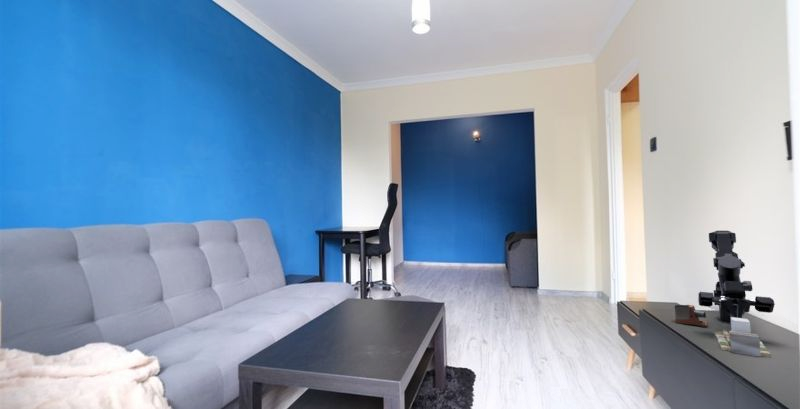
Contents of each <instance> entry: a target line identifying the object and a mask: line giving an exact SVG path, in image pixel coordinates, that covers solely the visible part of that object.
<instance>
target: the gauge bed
mask: <svg viewBox="0 0 800 409" xmlns="http://www.w3.org/2000/svg"><path fill="white" fill-rule="evenodd" d="M721 331H722V332H720V331H714V336H715V338H716V340H717V342H718V345H719V347H720V349H721V350H722V349H723V350H722V351H727V350H728V352H731V353H734V354H741V355H747V356H754V357H758V358H760V357H767V358H772V357H771V356H772V354H771V353H770V351H769V350H768V349H767V347H766V346H765V345H764V344H763V341H761V339H760V336H759V334H757V333H743V332H735V331H731V330H727V329H724V328H722V329H721ZM718 336H722V337H729V338H730V339H728V338H721V337H718Z"/></svg>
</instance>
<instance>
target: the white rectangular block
mask: <svg viewBox="0 0 800 409" xmlns="http://www.w3.org/2000/svg"><path fill="white" fill-rule="evenodd" d="M730 318H731V323H730V327H731V328H730V331H735V332H743V333H751V321H750V320H749V319H748V318H743V317H742V318H735V317H730ZM751 334H752V333H751ZM718 337H721V338H728V339H730V338H729V337H722V336H718Z"/></svg>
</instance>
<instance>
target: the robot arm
mask: <svg viewBox="0 0 800 409" xmlns="http://www.w3.org/2000/svg"><path fill="white" fill-rule="evenodd" d="M708 242H709V243H711V248H712V249H713V250H714V251H715V257H713V259H712V260H713V261H712V262H713V267H714V268H716V270H717V276H718V281H717V282H716V283H715V289H714V290H713V292H707V291H699V292H698V297H697V298H698V299H697V300H698V305H699V306H700V307H707V308H708V307H709V308H710V307H712V306H713V304H714V306H718V311H719V315H716V316H715V318H716V319H718V320H719V321H720V322H721V323H730V324H731V318H730V317H735V318H743V316H744V314H745V313H749V312H750V309H751V307H754V309H755V310H756V311H757V312H758V313H769V314H770V313H773V312H774V308H775V305H776V304H775V301H774V299H773V298H772V297H769V296H758V295H756V296H755V297H754V298H755V299H746V297H747V294H746V292H752V291H753V284H752V281H750V280H743V281H741V277H740V275H741V269H743V267H744V268H745V267H746V266H745V265H746V264H745V262H743V260H742V258H740V257H739V254H738V253H736V252H734V251H733V249H734V248H735V247H734V245H735V244H736V243H737V237H736V233H735V232H732V231H730V230H714V231H712V232H709V233H708Z"/></svg>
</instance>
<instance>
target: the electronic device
mask: <svg viewBox="0 0 800 409" xmlns="http://www.w3.org/2000/svg"><path fill="white" fill-rule="evenodd" d="M673 308H674V312H675V313H674V317H675V318H674V321H675V324H681V325H686V324H688V325H689V326H694V325H696V326H695V327H700V328H701V327H702V328H703V327H705V328H706V327H707V326H708V321H704V320H700V318H701V319H702V318H703V319H704V318H707V315H706V311H699V310H696V307H695V306H694V305H692V304H675V305H674V307H673ZM688 325H687V326H688Z"/></svg>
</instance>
